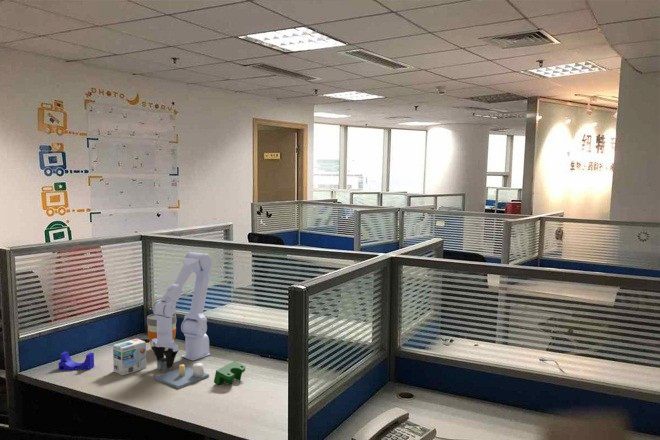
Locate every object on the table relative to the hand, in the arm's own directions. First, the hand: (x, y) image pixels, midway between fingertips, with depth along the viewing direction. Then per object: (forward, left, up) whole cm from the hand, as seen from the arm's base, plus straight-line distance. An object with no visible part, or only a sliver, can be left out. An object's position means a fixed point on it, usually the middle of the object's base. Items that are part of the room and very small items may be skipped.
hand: (165, 365), depth 205 cm
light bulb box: (+9, -10, -2) cm, 14 cm away
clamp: (-7, +30, -2) cm, 31 cm away
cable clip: (+21, -28, -2) cm, 35 cm away
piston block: (+2, +13, -1) cm, 13 cm away
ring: (0, 0, -1) cm, 1 cm away
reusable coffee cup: (-13, -20, -2) cm, 24 cm away
